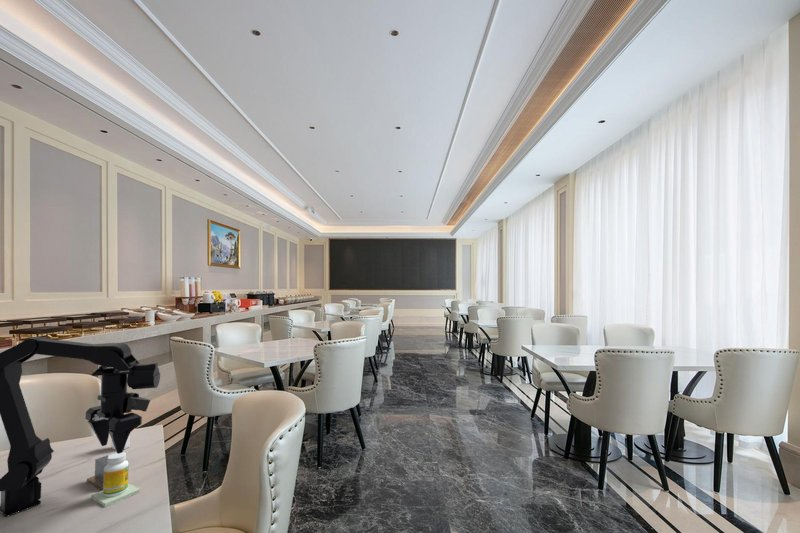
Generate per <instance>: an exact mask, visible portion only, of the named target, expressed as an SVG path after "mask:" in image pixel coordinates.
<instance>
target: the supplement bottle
mask: <svg viewBox="0 0 800 533" xmlns="http://www.w3.org/2000/svg"><path fill="white" fill-rule="evenodd" d="M126 458H127V453H126V452H124V451H123V452H122V453H119V454H118V453H117V452H115V453H112V454H110V455H108V459H107V462H108V464H107V465H106V466H105V467H104V482H103V495H104V496H107V497H112V496H116V495H119V494H122V493H123V492H125V491H126V490H127V488H128V483H129V467H130V466H129V465H130V464H129V461H128V460H126Z"/></svg>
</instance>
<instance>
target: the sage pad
mask: <svg viewBox="0 0 800 533" xmlns="http://www.w3.org/2000/svg"><path fill="white" fill-rule="evenodd" d="M138 493H141V489H140V488H139V487H138V486H135V485H134V484H132V483H129V482H128V488H127V490H126V491H125V492H123V493H122V494H119V495H116V496H112V497H107V496H104V495H103V491H101V490H100V491H98V492H95V493H93V494H91V496H90V498H91V499H92V500H93V501H95V502H97V503H98V504H100V505H101V506H103V507H104V508H106V507H108V506H111V505H113V504H115V503H118V502H120V501H122V500H125V499H127V498H129V497H132V496H133V495H136V494H138Z"/></svg>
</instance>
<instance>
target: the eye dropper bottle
mask: <svg viewBox="0 0 800 533" xmlns="http://www.w3.org/2000/svg"><path fill="white" fill-rule="evenodd" d="M130 437H131V433H130V434H129V437H128V439H127V442H126V444H125V447H124V450H126V449H128V448H130V446H131V444H130V442H131V438H130ZM111 449H112V450H114V451H116V449H115V447H114V444H113V441H112V440H111Z"/></svg>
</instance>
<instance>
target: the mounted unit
mask: <svg viewBox="0 0 800 533" xmlns="http://www.w3.org/2000/svg"><path fill="white" fill-rule="evenodd" d="M108 456H109V455H108V454H107V455H105V456H102V457H98V458H95V459H94V460H95V463H94V465H95V466H94V476H91V477H87V478H86V483H87V484H89V485H91V486H93V487H94V488H96V489H98V490H100V491H103V482H104V467H105V466H106V465H107V464H108V462H107V459H108Z"/></svg>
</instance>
